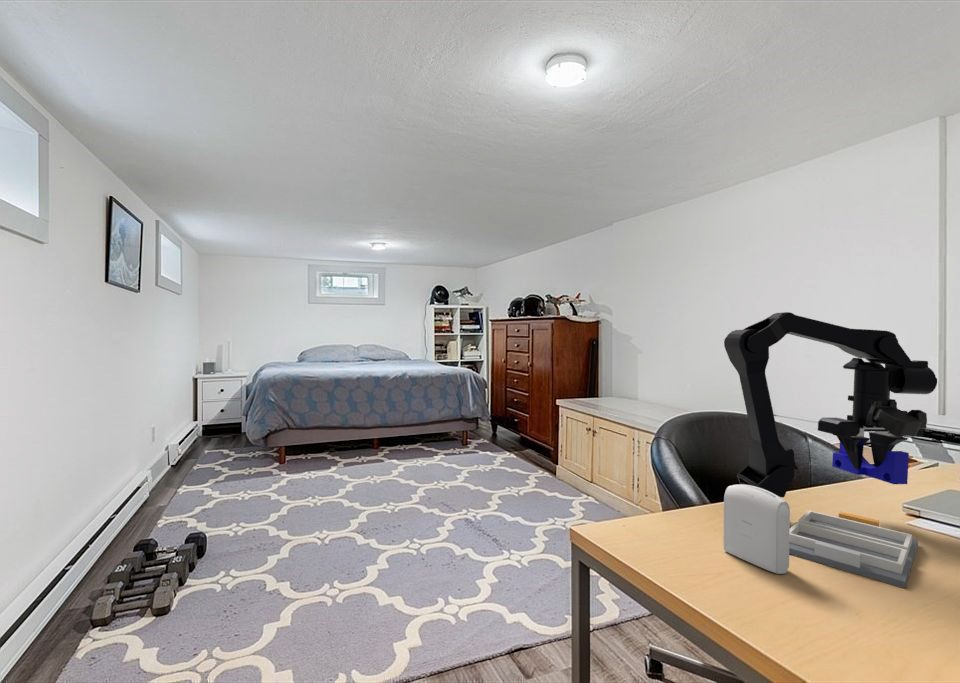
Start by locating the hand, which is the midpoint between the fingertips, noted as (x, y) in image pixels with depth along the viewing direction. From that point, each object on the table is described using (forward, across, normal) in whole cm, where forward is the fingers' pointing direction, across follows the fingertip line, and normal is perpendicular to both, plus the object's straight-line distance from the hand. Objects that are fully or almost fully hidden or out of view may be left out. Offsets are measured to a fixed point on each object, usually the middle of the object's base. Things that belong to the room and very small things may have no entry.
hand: (867, 469), depth 97 cm
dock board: (+11, -14, -10) cm, 20 cm away
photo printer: (+12, -34, -12) cm, 38 cm away
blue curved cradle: (+1, 0, 0) cm, 1 cm away
